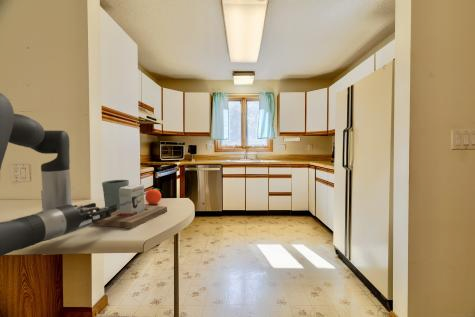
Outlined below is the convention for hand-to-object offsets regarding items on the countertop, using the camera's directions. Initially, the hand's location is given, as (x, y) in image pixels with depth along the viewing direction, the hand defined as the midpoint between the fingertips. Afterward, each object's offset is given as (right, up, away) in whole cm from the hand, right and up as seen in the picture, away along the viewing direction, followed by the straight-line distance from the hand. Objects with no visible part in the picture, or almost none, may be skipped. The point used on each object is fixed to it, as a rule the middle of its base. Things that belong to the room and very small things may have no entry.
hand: (105, 206), depth 78 cm
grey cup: (-8, -6, +24) cm, 26 cm away
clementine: (+5, -5, +33) cm, 34 cm away
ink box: (+4, -7, +12) cm, 14 cm away
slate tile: (-15, -7, +3) cm, 17 cm away
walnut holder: (+4, -6, +12) cm, 14 cm away
